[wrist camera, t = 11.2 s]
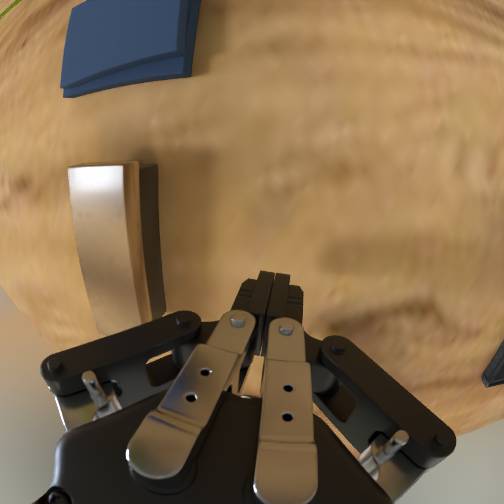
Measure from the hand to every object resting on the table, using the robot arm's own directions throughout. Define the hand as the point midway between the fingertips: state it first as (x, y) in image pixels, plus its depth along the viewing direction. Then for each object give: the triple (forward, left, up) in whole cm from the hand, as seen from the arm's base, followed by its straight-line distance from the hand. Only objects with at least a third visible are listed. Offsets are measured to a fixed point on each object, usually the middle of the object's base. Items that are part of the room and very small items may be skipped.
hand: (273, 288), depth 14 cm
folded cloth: (-15, -11, -4) cm, 19 cm away
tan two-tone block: (0, -10, -4) cm, 11 cm away
